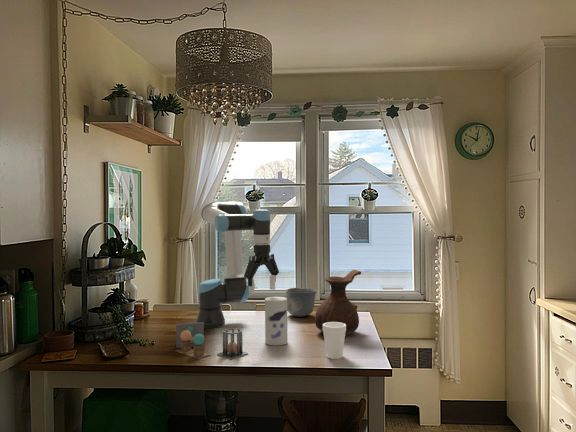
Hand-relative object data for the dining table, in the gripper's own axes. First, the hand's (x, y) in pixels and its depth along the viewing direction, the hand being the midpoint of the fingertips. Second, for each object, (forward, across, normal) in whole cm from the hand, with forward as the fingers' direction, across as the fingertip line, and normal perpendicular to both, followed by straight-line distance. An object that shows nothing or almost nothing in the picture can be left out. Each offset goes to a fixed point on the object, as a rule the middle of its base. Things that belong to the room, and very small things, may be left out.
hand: (262, 291), depth 214 cm
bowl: (+24, +53, +20) cm, 61 cm away
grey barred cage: (+23, -20, -2) cm, 31 cm away
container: (+24, +5, -4) cm, 24 cm away
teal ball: (+17, -30, +8) cm, 35 cm away
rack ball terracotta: (+17, -29, +17) cm, 38 cm away
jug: (+24, +35, -16) cm, 45 cm away
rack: (+23, -30, +12) cm, 40 cm away
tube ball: (+20, -20, -2) cm, 29 cm away
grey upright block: (+23, -23, +22) cm, 40 cm away
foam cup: (+24, +4, -36) cm, 43 cm away
